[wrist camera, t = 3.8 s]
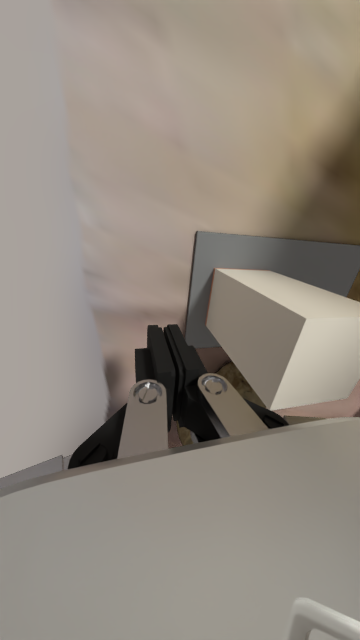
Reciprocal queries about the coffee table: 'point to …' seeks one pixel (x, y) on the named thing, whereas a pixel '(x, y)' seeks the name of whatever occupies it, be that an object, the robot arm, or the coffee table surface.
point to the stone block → (240, 386)
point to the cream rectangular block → (286, 336)
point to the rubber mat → (264, 254)
